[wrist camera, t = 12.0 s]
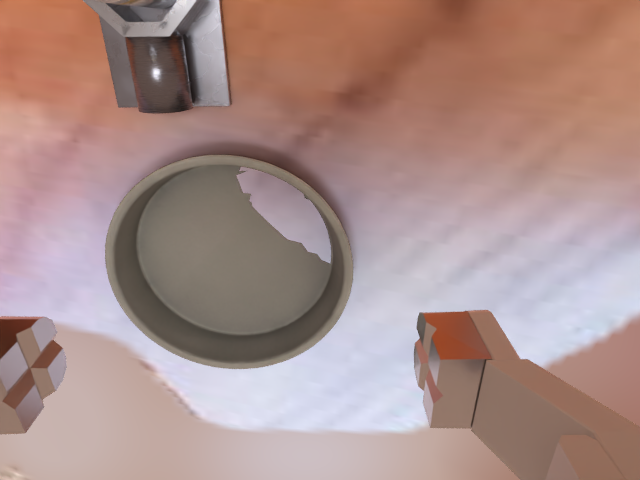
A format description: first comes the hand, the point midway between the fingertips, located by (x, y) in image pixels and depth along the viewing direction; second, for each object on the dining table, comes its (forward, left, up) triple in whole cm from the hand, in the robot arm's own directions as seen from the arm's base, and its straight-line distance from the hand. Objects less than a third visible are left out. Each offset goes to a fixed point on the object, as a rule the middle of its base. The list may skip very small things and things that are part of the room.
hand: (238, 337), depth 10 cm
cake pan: (+7, +16, -34) cm, 38 cm away
